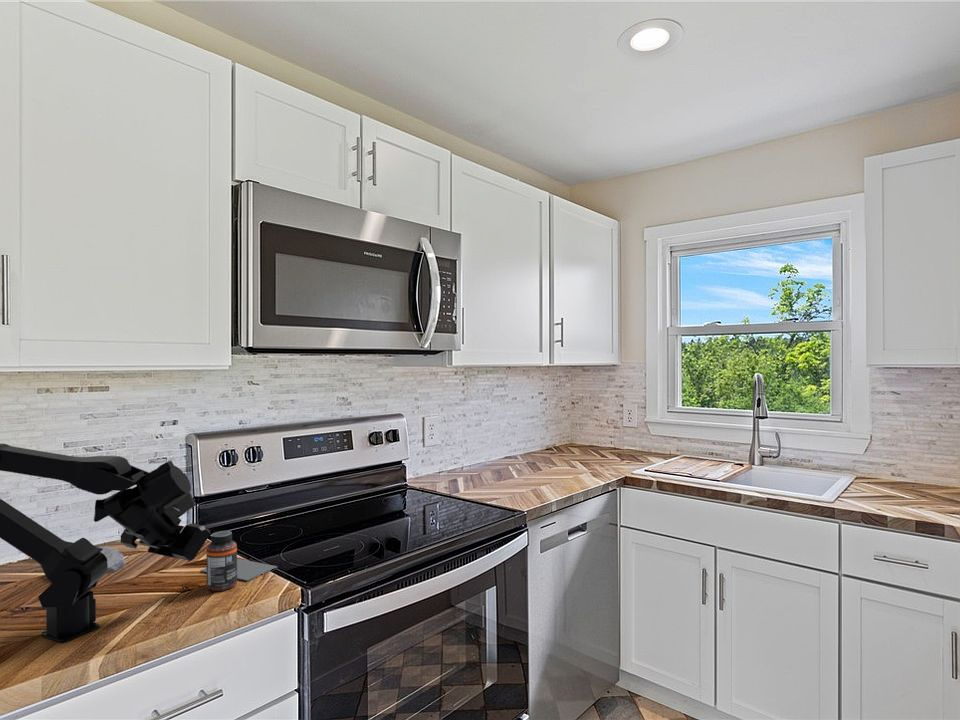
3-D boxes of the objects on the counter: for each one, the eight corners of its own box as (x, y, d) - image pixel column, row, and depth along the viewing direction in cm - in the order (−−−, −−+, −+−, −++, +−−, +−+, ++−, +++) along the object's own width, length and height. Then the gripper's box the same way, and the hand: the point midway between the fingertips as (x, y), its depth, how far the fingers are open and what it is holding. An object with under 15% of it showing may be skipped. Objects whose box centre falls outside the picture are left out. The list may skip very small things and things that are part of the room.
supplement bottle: (217, 580, 128) (217, 528, 128) (242, 581, 127) (242, 529, 127) (200, 591, 122) (200, 537, 122) (227, 593, 122) (227, 538, 121)
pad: (247, 581, 127) (247, 580, 127) (200, 572, 133) (200, 570, 133) (277, 568, 136) (277, 566, 136) (232, 559, 141) (232, 557, 141)
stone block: (129, 575, 136) (106, 559, 141) (131, 555, 136) (108, 540, 141) (73, 595, 126) (50, 577, 131) (74, 574, 125) (51, 556, 130)
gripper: (201, 483, 109) (248, 527, 119) (135, 474, 116) (184, 516, 127) (162, 538, 102) (215, 580, 112) (94, 524, 109) (150, 564, 120)
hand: (191, 557), depth 118 cm, fingers closed
